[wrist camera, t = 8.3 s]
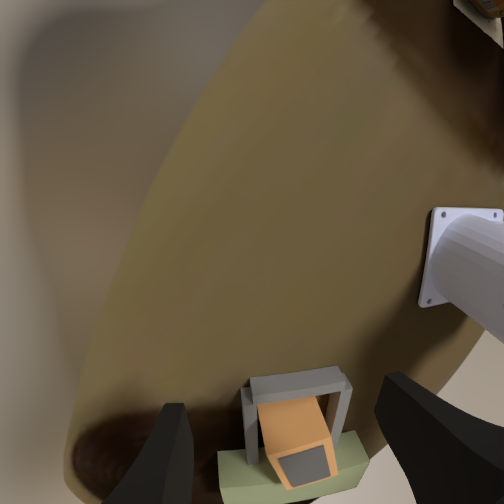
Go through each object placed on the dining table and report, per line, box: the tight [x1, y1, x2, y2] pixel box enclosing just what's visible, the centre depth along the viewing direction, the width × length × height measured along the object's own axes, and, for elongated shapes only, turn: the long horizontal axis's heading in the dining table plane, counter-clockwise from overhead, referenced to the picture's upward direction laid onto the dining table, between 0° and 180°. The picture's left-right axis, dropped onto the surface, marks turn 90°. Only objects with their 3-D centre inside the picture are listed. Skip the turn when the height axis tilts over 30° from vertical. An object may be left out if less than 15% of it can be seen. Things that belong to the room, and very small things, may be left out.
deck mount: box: [217, 366, 370, 504], centre depth 22 cm, size 14×16×4 cm
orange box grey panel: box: [257, 396, 338, 490], centre depth 21 cm, size 4×7×6 cm, turn 16°
